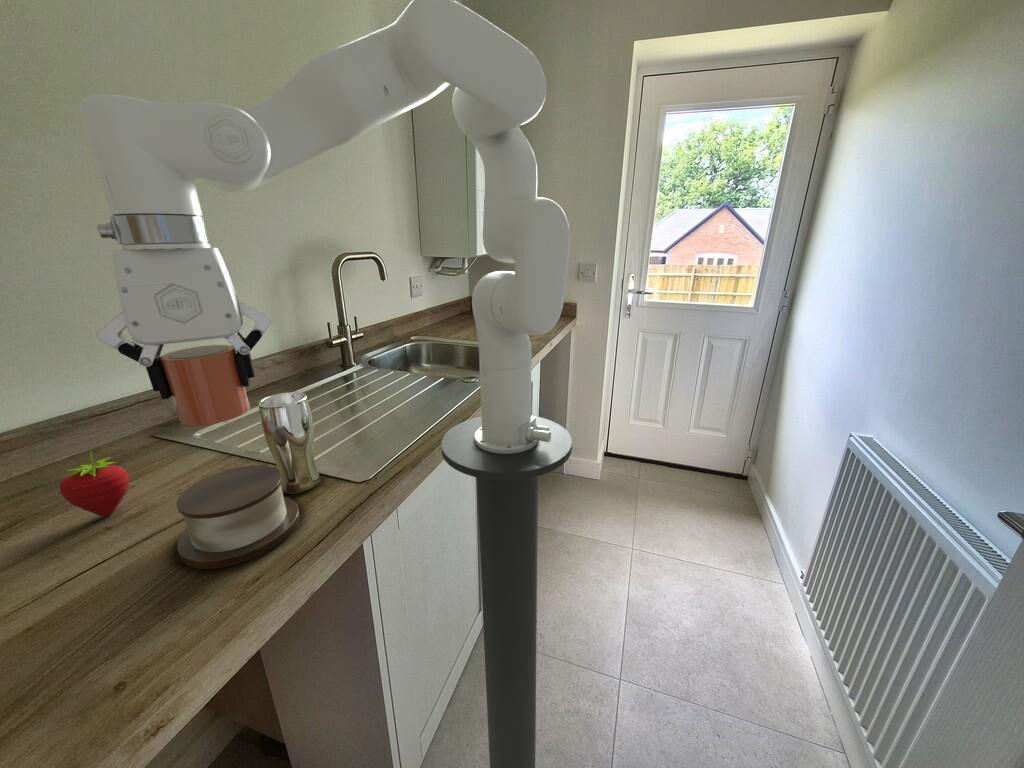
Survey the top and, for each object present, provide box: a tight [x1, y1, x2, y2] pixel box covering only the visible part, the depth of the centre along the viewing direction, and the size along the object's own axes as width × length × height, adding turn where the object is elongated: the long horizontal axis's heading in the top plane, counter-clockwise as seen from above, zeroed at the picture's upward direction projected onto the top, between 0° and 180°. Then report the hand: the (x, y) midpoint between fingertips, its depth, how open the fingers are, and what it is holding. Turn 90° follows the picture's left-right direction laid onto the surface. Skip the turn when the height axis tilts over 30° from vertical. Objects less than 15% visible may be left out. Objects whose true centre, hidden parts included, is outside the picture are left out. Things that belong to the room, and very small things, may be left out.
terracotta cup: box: [160, 344, 251, 427], centre depth 50 cm, size 7×7×8 cm
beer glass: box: [258, 391, 321, 495], centre depth 65 cm, size 7×7×15 cm
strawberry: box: [59, 451, 130, 518], centre depth 58 cm, size 6×8×10 cm
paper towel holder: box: [176, 464, 301, 570], centre depth 55 cm, size 14×14×7 cm
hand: (209, 388), depth 50 cm, fingers closed on terracotta cup, 7 cm apart
